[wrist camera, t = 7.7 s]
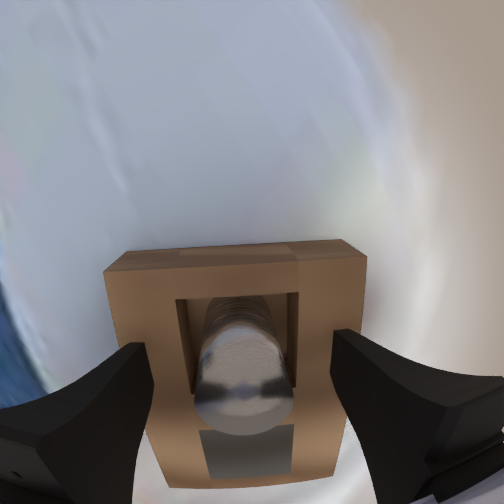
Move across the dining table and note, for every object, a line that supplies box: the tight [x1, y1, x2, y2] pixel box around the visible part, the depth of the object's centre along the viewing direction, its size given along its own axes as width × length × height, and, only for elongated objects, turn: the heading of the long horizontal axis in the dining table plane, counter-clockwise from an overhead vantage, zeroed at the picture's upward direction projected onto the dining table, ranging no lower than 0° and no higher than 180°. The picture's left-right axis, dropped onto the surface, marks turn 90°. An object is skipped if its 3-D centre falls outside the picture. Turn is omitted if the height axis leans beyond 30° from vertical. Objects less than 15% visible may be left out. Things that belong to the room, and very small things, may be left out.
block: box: [103, 239, 367, 489], centre depth 14 cm, size 14×10×3 cm
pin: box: [194, 295, 294, 435], centre depth 12 cm, size 3×3×6 cm
